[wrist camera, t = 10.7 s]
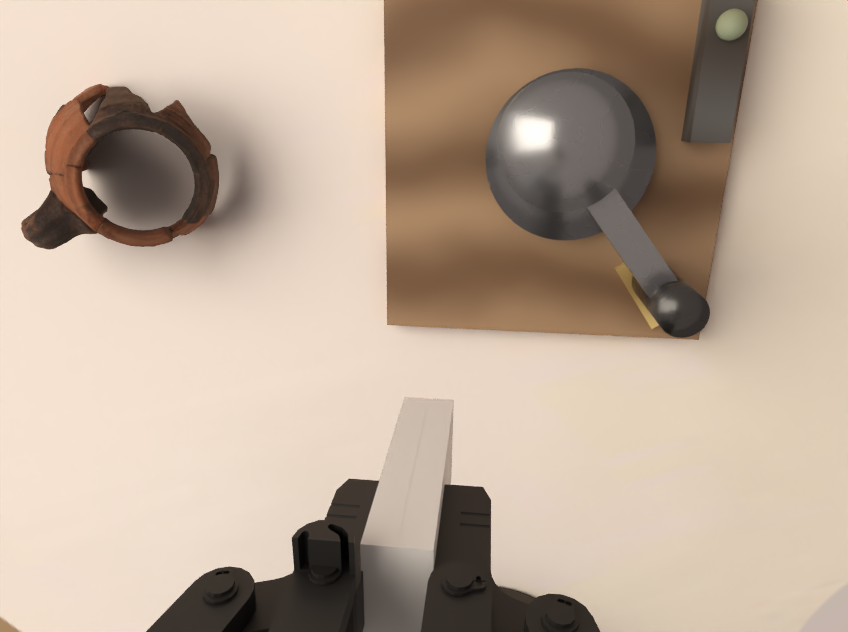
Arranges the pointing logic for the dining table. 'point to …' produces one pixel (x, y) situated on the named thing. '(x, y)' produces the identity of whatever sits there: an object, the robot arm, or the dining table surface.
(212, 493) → the dining table surface
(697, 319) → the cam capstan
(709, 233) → the stand board
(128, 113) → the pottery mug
